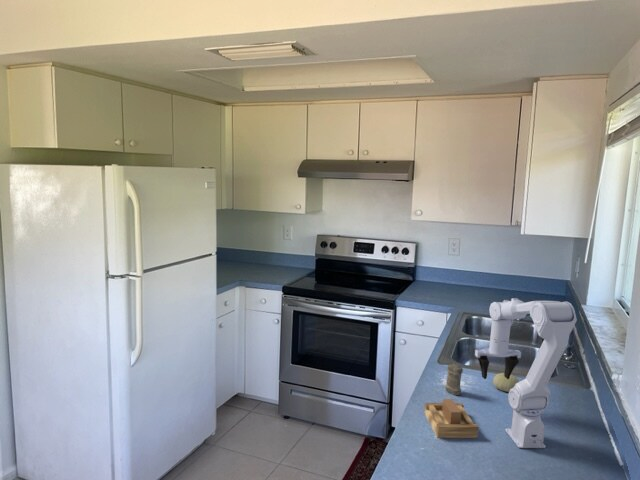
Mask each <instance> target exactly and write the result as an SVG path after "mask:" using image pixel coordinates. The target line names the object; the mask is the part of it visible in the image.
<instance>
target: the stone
mask: <svg viewBox="0 0 640 480" xmlns="http://www.w3.org/2000/svg"><path fill="white" fill-rule="evenodd" d="M446 370H447V376H446V384H445V391H446V392H447V393H449V394H452V395H454V396H460V395H461V393H462V388H461V381H462V379H461V378H462V374H463V371H464V370H463V367H462V366H460V365H458V364H455V363H452V362H451V363H449V364H448V366H447V369H446Z"/></svg>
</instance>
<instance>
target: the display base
mask: <svg viewBox="0 0 640 480" xmlns="http://www.w3.org/2000/svg"><path fill="white" fill-rule="evenodd" d="M442 404H443V402H425V403H424V412H423V413H424V415H425V417H426V419H427V421H428V423H429V425H430V427H431V428H432V431H433V432H434V435H435V437H436V438H437V439H467V438H468V439H469V438H470V439H477V438H478V437H479V435H478V434H479V425H478V424H477V423H475V422H473V420H472V419H471V417H470V416H469V414H468V413H467V411H466V410H465V408H464V403H462V402H455V404H456V405H457V407H458V408H459V410H460V411H461V420H460V424H448V422H447V420H446V419H445V417H444V415H443V414H442Z"/></svg>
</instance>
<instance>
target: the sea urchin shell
mask: <svg viewBox="0 0 640 480" xmlns="http://www.w3.org/2000/svg"><path fill="white" fill-rule="evenodd" d="M518 382H520V380H519V379H518V378H517V377H516V376H515V375H514V374H512V373H511V375H510V378H509V379H507V378H506V377H505V376H504V372H500V373H497V374H496V375H494V377H493V379H492V384H493V386H494V387H495V388H496V389H497V390H500V391H503V392H507V393H509V391H510V390H511V389H512V388H514V386H515V384H516V383H518Z"/></svg>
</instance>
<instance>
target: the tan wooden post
mask: <svg viewBox="0 0 640 480" xmlns="http://www.w3.org/2000/svg"><path fill="white" fill-rule="evenodd" d="M442 403H443V404H442V414H443V415H444V417H445V419H446V420H447V422H448V424H460V420H461V411H460V410H459V408H458V407H457V405H456V404H455V403H456V402H455V401H454V399H453V398H443V399H442Z"/></svg>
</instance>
